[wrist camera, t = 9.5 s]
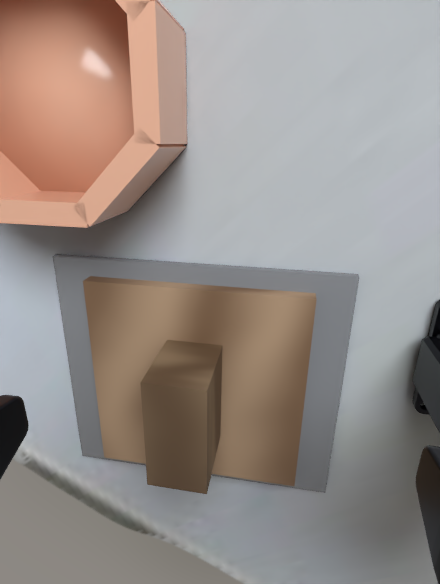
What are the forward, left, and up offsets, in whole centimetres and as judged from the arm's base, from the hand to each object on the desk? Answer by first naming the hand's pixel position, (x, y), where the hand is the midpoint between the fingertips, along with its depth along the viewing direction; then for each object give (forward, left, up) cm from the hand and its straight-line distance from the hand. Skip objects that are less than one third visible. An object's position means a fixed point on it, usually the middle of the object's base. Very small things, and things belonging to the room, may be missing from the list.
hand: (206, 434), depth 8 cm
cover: (+3, +7, -12) cm, 14 cm away
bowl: (+9, -8, -12) cm, 17 cm away
